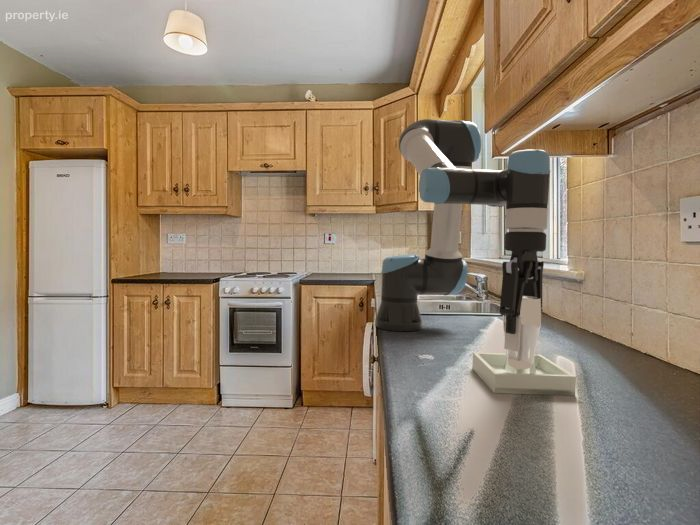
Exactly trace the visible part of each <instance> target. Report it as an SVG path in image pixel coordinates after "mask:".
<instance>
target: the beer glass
mask: <svg viewBox="0 0 700 525" xmlns="http://www.w3.org/2000/svg"><path fill="white" fill-rule="evenodd" d="M541 309H542V308H541V298H539V297H535V296H526V295H523V297H522V302H521V307H520V312H519V316H518V317H521V333H520V351H518V352H517V351H513V350H508V349H505V354H506V357H505V362H504V366H503V370H504V371H505V372H507V373H518V374H536V368H535V361H534V355H535V354H536V347H537V344H538V340H539V335H540V329H541V327H542V326H541V325H542V324H541V323H542V313H541ZM505 321H506V316H504V315H502V324H503V326H502V328H503V334H504V335H503V336H504V337H505Z"/></svg>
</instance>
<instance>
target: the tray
mask: <svg viewBox="0 0 700 525" xmlns="http://www.w3.org/2000/svg"><path fill="white" fill-rule="evenodd" d="M505 357H506V353H497V352H495V353H494V352H472V370H473V371H474V372H475V373H476V374H477V375H478V376H479V378H480V379H481V380H482V381H483V383H485V384H486V386H487V387H488V388H489V389H490V390H491V391H492V392H493V393H494V394H511V395H512V394H513V395H514V394H517V395H518V394H519V395H541V396H542V395H544V396H545V395H546V396H547V395H548V396H576V386H577V385H576V384H577V383H576V382H577V376H576V375H574V374H573V373H571V372H569V371H568V370H567V369H565V368H563V367H562V366H560V365H558V364H556V363H555V362H553V361H552V360H550V359H548V358H547V357H545V356H544V355H542V354H536V353H535V355H534V361H535V368H536V374H518V373H507V372H505V371H504V370H503V366H504V362H505Z"/></svg>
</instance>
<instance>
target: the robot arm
mask: <svg viewBox="0 0 700 525" xmlns="http://www.w3.org/2000/svg"><path fill="white" fill-rule="evenodd" d="M398 150H399V153H400V154H401V156H402V157H403V159H405V160H406V161H407V162H410V163H411V164H412V166H413V167H414V169H415V170H416V172H417V173H418V175H419V180H418V181H419V182H418V192H419V197H420V200H421V201H423V203H430V204H434V206H433V215H432V216H433V218H432V226H431V227H432V229H431V238H430V239H431V240H430V248H429V249H428V250H426V251H425V254H424V258H420V256H419V254H418V253H416V254H414V253H413V254H401V255H393V256H388V257H386V258H384V259H383V261H382V266H381V290H380V292H381V297H380V298H381V299H380V305H379V307H378V310H377V313H376V316H375V321H374V323H375V324H374V325H375V327H376V328H378V329H381V330H385V331H391V332H392V331H393V332H414V331H419V330H422V329H423V319H422V316H421V312H420V308H419V305H418V296H419V295H422V296H423V295H425V296H426V295H431V296H432V295H433V296H452V295H458V294H460V293H461V292H462V291H463V289H464V288H465V286H466V283H467V280H468V275H469V274H468V264H467V262H466V261H465V260H464V259H463V254H462V253H461V252H460V251H459V244H460V243H459V242H460V233H461V221H462V215H463V214H462V211H463V205H478V206H479V205H481V206H483V205H484V206H488V207H492V208H495V207H499V208H500V207H501V208H502V207H505V209H506V210H505V214H504V216H503V218H504V220H505V229H506V230H508V231H506V233H505V234H504V250H505V251H507V252H508V251H510V252H511V253H510V254H511V255H510V259H509V261H503V262H502V266H501V268H502V282H501V291H500V303H499V304H500V305H499V314H500V316H503V315H504V316H506V321H505V336H504V345H503V346H504V347H503V349H505V350H506V349H508V350H513V351H517V352H518V351H520V333H521V317H518V316H519V312H520V307H521V302H522V297H523V295H526V296H535V297H539V298H541V314H542V313H543V272H544V265H545V264H544V263H545V262H544V261H543V260H538V252H541V253H542V252H545V251H546V249H547V233H546V232H544V230H547V229H548V213H549V212H548V211H549V210H548V205H549V190H550V189H549V188H550V175H551V174H550V173H551V169H550V154H549V153H548V152H547V151H545V150H543V149H523V150H522V149H521V150H516V151H513V152H511V153H510V154H509V156H508V159H507V165H506V167H507V168H506V169H501V170H496V169H494V170H493V169H473V168H472V163H474V162H477V160H478V159H479V158H480V154H481V151H482V137H481V133H480V129H479V127H478V126H477V124H476V123H474V122H471V121H465V120H450V119H448V120H447V119H431V118H429V119H428V118H425V119H420V120H417V121H414V122H412V123H410V124H409V125H408V126H406V127H405V128H404V130H403V131H402V132H401V134H400V135H399V139H398Z"/></svg>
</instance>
